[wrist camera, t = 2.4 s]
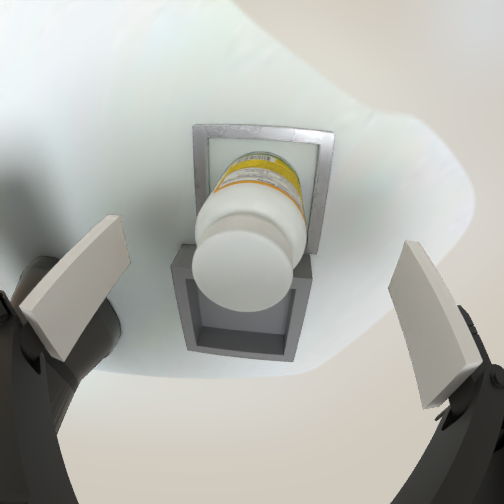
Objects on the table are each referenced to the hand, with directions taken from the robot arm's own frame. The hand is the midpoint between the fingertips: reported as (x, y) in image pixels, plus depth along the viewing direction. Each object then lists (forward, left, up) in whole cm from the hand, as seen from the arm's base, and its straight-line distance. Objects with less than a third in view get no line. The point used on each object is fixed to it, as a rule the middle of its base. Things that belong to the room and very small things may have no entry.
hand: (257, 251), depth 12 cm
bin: (-1, -10, -8) cm, 13 cm away
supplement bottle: (0, 0, -8) cm, 8 cm away
